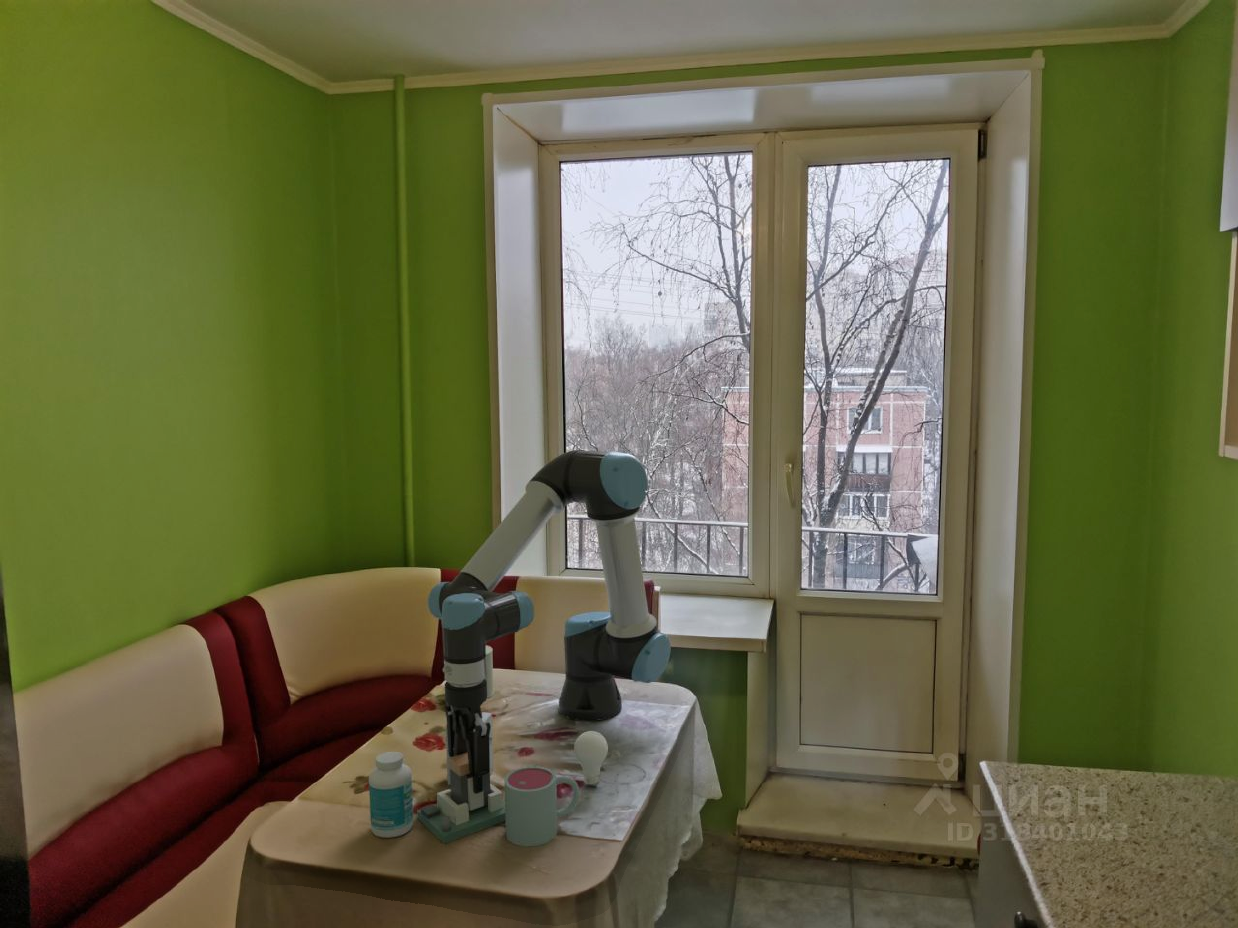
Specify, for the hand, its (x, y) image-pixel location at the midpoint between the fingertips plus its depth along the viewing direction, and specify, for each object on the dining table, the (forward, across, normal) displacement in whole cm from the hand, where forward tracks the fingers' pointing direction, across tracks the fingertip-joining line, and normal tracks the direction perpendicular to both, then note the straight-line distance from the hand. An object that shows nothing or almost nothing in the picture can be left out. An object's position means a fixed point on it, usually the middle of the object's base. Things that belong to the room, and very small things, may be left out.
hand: (470, 801), depth 158 cm
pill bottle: (+3, -5, -13) cm, 14 cm away
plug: (0, 0, 0) cm, 0 cm away
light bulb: (+3, +5, +24) cm, 25 cm away
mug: (+3, +12, +8) cm, 15 cm away
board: (+3, 0, -1) cm, 3 cm away
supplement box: (+3, -13, +7) cm, 15 cm away
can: (+3, -52, +29) cm, 60 cm away
